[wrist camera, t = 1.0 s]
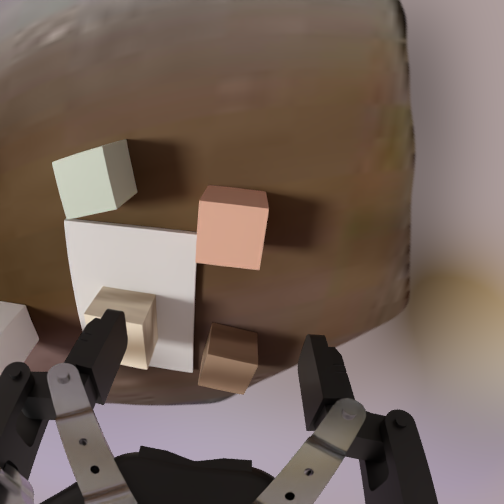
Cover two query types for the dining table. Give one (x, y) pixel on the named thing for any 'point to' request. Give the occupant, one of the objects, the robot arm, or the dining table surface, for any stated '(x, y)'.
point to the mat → (140, 277)
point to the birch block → (130, 321)
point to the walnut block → (229, 359)
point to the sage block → (95, 180)
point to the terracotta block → (231, 227)
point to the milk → (15, 334)
